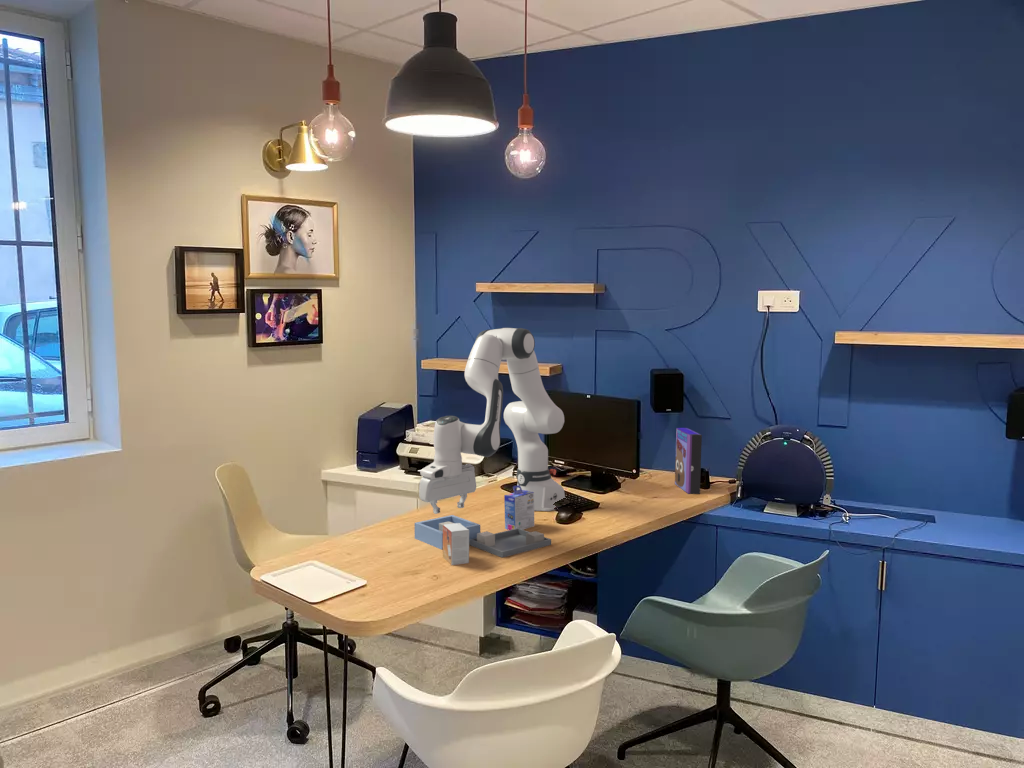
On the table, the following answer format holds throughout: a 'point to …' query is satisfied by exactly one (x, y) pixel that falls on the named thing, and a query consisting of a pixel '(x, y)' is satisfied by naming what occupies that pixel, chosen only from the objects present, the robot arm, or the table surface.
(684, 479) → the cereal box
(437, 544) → the blue square bin
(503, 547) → the parts tray
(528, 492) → the ink cartridge box
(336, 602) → the table surface
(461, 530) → the small box
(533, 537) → the gray cube
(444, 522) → the beige cardboard cube
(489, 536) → the cream sharp-edged cube
